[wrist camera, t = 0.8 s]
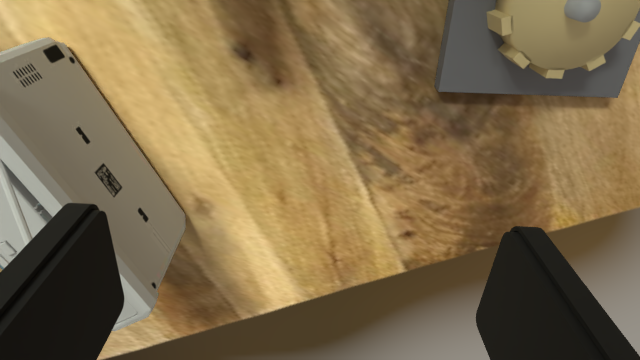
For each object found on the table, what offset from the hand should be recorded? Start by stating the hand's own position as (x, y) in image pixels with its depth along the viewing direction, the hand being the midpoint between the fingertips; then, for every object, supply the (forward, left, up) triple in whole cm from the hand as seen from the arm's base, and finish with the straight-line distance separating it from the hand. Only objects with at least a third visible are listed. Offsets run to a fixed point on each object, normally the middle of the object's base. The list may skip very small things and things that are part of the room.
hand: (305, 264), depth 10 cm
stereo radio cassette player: (+11, -19, -28) cm, 36 cm away
